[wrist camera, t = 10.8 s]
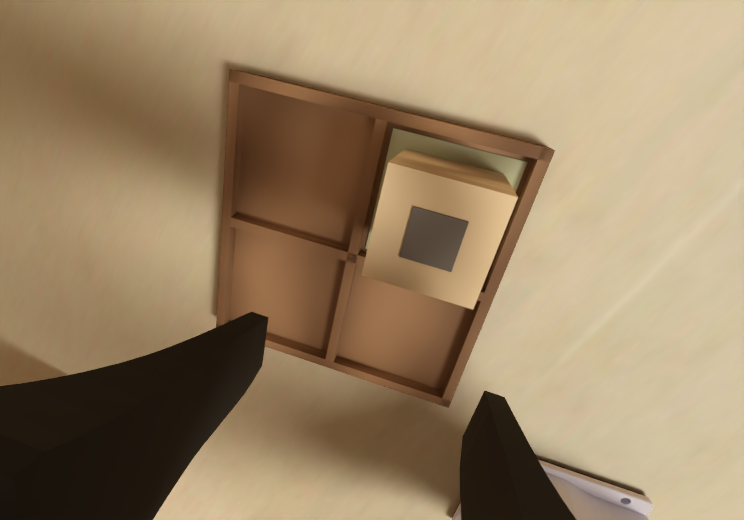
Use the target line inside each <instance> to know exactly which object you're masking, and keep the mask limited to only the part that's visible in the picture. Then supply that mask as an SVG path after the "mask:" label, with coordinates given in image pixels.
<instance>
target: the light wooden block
mask: <svg viewBox="0 0 744 520" xmlns="http://www.w3.org/2000/svg"><path fill="white" fill-rule="evenodd" d="M517 199H518V196H517V195H516V193H515V191H514V190H513V188H512V186H511V185H510V183H509V181H508V180H507V178H506V176H505V175H504V174H501V173H497V172H493V171H489V170H486V169H482V168H478V167H474V166H471V165H467V164H463V163H459V162H456V161H452V160H448V159H444V158H441V157H437V156H433V155H429V154H425V153H422V152H418V151H414V150H410V149H407V148H406V149H404V150H403V151H402V152H400V153H399V154H398V155H397V156H395V157H394V158H393V159H392V160H390V161H389V162H388V165H387V169H386V174H385V178H384V182H383V186H382V190H381V194H380V199H379V203H378V207H377V211H376V215H375V220H374V224H373V228H372V232H371V236H370V240H369V245H368V249H367V253H366V257H365V261H364V266H363V270H362V274H361V275H362V276H365V277H369V278H372V279H375V280H378V281H382V282H385V283H388V284H391V285H395V286H398V287H401V288H404V289H408V290H411V291H414V292H417V293H421V294H424V295H427V296H430V297H434V298H437V299H440V300H443V301H447V302H450V303H453V304H456V305H460V306H463V307H466V308H469V309H474V306H475V304H476V301H477V299H478V296H479V294H480V291H481V289H482V286H483V284H484V281H485V279H486V276H487V274H488V271H489V269H490V266H491V264H492V261H493V259H494V256H495V254H496V251H497V249H498V246H499V244H500V241H501V239H502V236H503V234H504V231H505V229H506V226H507V224H508V221H509V219H510V216H511V214H512V211H513V209H514V206H515V204H516V201H517Z"/></svg>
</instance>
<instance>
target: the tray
mask: <svg viewBox="0 0 744 520" xmlns="http://www.w3.org/2000/svg"><path fill="white" fill-rule="evenodd" d="M406 148H407V149H410V150H414V151H418V152H422V153H425V154H429V155H433V156H437V157H441V158H444V159H448V160H452V161H456V162H459V163H463V164H467V165H471V166H474V167H478V168H482V169H486V170H489V171H493V172H497V173H501V174H504V175H505V176H506V178H507V180H508V181H509V183H510V185H511V186H512V188H513V190H514V191H515V193H516V195H517V196H518V199H517V201H516V204H515V206H514V209H513V211H512V214H511V216H510V219H509V221H508V224H507V226H506V229H505V231H504V234H503V236H502V239H501V241H500V244H499V246H498V249H497V251H496V254H495V256H494V259H493V261H492V264H491V266H490V269H489V271H488V274H487V276H486V279H485V281H484V284H483V286H482V289H481V291H480V294H479V296H478V299H477V301H476V304H475V306H474V309H469V308H466V307H463V306H460V305H456V304H453V303H450V302H447V301H443V300H440V299H437V298H434V297H430V296H427V295H424V294H421V293H417V292H414V291H411V290H408V289H404V288H401V287H398V286H395V285H391V284H388V283H385V282H382V281H378V280H375V279H372V278H369V277H365V276H362V275H361V274H362V270H363V266H364V261H365V257H366V253H367V249H368V245H369V240H370V236H371V232H372V228H373V224H374V220H375V215H376V211H377V207H378V203H379V199H380V194H381V190H382V186H383V182H384V178H385V174H386V169H387V165H388V162H389V161H390V160H392V159H393V158H394V157H395V156H397V155H398V154H399V153H400V152H402V151H403V150H404V149H406ZM554 152H555V150H553V149H551V148H548V147H544V146H540V145H536V144H532V143H528V142H524V141H520V140H516V139H512V138H508V137H504V136H500V135H496V134H492V133H488V132H484V131H480V130H476V129H472V128H468V127H464V126H460V125H456V124H452V123H448V122H444V121H440V120H436V119H432V118H428V117H424V116H420V115H416V114H412V113H408V112H404V111H400V110H396V109H392V108H388V107H384V106H380V105H376V104H372V103H368V102H364V101H360V100H356V99H352V98H348V97H344V96H340V95H336V94H332V93H328V92H324V91H319V90H315V89H311V88H307V87H303V86H299V85H295V84H291V83H287V82H283V81H279V80H275V79H271V78H267V77H263V76H259V75H255V74H251V73H247V72H243V71H238V70H231V69H230V72H229V92H228V111H227V130H226V149H225V169H224V188H223V207H222V227H221V246H220V265H219V284H218V304H217V323H216V328H217V327H219V326H221V325H223V324H225V323H228V322H230V321H232V320H234V319H236V318H238V317H241V316H243V315H245V314H247V313H250V312H254V313H257V314H260V315H263V316H266V317H269V318H268V326H267V333H266V340H265V346H266V347H269V348H272V349H275V350H278V351H281V352H284V353H287V354H290V355H293V356H296V357H299V358H302V359H305V360H308V361H310V362H313V363H316V364H319V365H322V366H325V367H328V368H331V369H334V370H337V371H340V372H343V373H346V374H349V375H352V376H355V377H358V378H361V379H364V380H367V381H370V382H373V383H376V384H379V385H382V386H385V387H388V388H391V389H394V390H397V391H400V392H403V393H406V394H409V395H412V396H415V397H418V398H421V399H424V400H427V401H430V402H433V403H436V404H439V405H442V406H445V407H449V405H450V402H451V400H452V398H453V395H454V393H455V390H456V388H457V386H458V383H459V381H460V378H461V376H462V374H463V371H464V369H465V366H466V364H467V361H468V359H469V357H470V354H471V352H472V349H473V347H474V345H475V342H476V340H477V337H478V335H479V333H480V330H481V328H482V325H483V323H484V320H485V318H486V316H487V313H488V311H489V308H490V306H491V304H492V301H493V299H494V296H495V294H496V292H497V289H498V287H499V284H500V282H501V279H502V277H503V275H504V272H505V270H506V267H507V265H508V263H509V260H510V258H511V255H512V253H513V251H514V248H515V246H516V243H517V241H518V238H519V236H520V234H521V231H522V229H523V226H524V224H525V222H526V219H527V217H528V214H529V212H530V210H531V207H532V205H533V202H534V200H535V197H536V195H537V193H538V190H539V188H540V185H541V183H542V181H543V178H544V176H545V173H546V171H547V169H548V166H549V164H550V161H551V159H552V156H553V154H554Z"/></svg>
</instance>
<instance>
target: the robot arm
mask: <svg viewBox="0 0 744 520" xmlns="http://www.w3.org/2000/svg"><path fill="white" fill-rule="evenodd" d="M268 318H269V317H266V316H263V315H260V314H257V313H254V312H250V313H247V314H245V315H243V316H241V317H238V318H236V319H234V320H232V321H230V322H228V323H225V324H223V325H221V326H219V327H217V328H214V329H212V330H210V331H208V332H205V333H203V334H201V335H199V336H196V337H194V338H191V339H189V340H186V341H184V342H181V343H179V344H176V345H173V346H171V347H168V348H166V349H163V350H160V351H158V352H155V353H152V354H149V355H146V356H142V357H139V358H136V359H133V360H129V361H126V362H122V363H119V364H115V365H111V366H107V367H103V368H99V369H95V370H90V371H86V372H82V373H78V374H73V375H68V376H63V377H58V378H52V379H46V380H40V381H35V382H28V383H22V384H14V385H6V386H0V520H153V518H154V517H155V515H156V514H157V512H158V511H159V509H160V507H161V506H162V504H163V503H164V501H165V500H166V498H167V496H168V495H169V493H170V492H171V490H172V489H173V487H174V486H175V484H176V483H177V481H178V480H179V478H180V477H181V475H182V474H183V472H184V471H185V469H186V468H187V466H188V465H189V463H190V462H191V460H192V459H193V458H194V456H195V455H196V454H197V452H198V451H199V450H200V448H201V447H202V446H203V445H204V443H205V442H206V441H207V440H208V438H209V437H210V436H211V435H212V433H213V432H214V431H215V430H216V428H217V427H218V426H219V425H220V424H221V422H222V421H223V420H224V419H225V417H226V416H227V415H228V414H229V412H230V411H231V410H232V409H233V407H234V406H235V405H236V404H237V402H238V401H239V400H240V399H241V397H242V396H243V395H244V393H245V392H246V391H247V389H248V388H249V386H250V384H251V383H252V381H253V380H254V378H255V376H256V375H257V373H258V371H259V370H260V368H261V366H262V362H263V355H264V347H265V340H266V333H267V326H268ZM460 498H461V502H460V504H459V506H458V508H457V510H456V512H455V514H454V516H453V518H452V520H648V518H647V515H648V514H649V513H650V512H651V511H652V509H653V504H652V502H651V500H650V499H649V498H648V497H646V496H643V495H640V494H637V493H634V492H631V491H629V490H626V489H623V488H620V487H617V486H614V485H611V484H608V483H605V482H602V481H599V480H596V479H593V478H590V477H588V476H585V475H582V474H579V473H576V472H573V471H570V470H567V469H564V468H561V467H558V466H555V465H552V464H549V463H547V462H544V461H541V460H538V459H537V457H536V455H535V454H534V452H533V450H532V448H531V447H530V445H529V443H528V441H527V439H526V437H525V436H524V434H523V432H522V430H521V428H520V426H519V424H518V422H517V420H516V418H515V416H514V415H513V413H512V411H511V409H510V407H509V405H508V403H507V401H506V399H505V397H502V396H499V395H496V394H493V393H490V392H487V391H484V393H483V395H482V397H481V399H480V402H479V404H478V406H477V408H476V410H475V412H474V414H473V416H472V418H471V421H470V423H469V425H468V427H467V429H466V431H465V433H464V435H463V440H462V450H461V461H460Z"/></svg>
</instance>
